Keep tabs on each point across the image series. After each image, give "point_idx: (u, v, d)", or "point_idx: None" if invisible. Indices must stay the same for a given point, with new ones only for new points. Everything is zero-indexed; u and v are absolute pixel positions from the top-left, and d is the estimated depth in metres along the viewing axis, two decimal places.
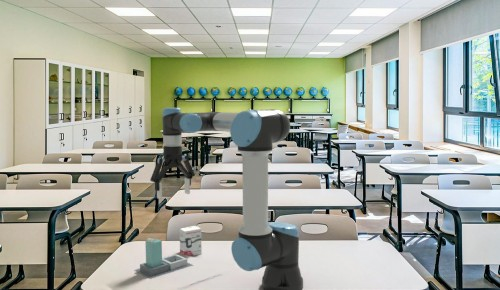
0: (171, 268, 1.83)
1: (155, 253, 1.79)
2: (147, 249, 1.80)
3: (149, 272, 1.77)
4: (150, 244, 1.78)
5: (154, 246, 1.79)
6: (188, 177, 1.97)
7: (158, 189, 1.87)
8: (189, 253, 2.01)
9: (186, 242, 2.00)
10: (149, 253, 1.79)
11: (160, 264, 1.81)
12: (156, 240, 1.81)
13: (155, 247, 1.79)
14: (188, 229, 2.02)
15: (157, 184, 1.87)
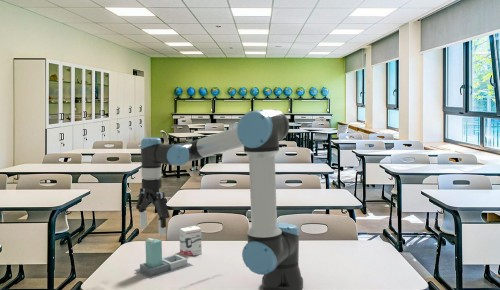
0: (171, 268, 1.83)
1: (155, 253, 1.79)
2: (147, 249, 1.80)
3: (149, 272, 1.77)
4: (150, 244, 1.78)
5: (154, 246, 1.79)
6: None
7: None
8: (189, 253, 2.01)
9: (186, 242, 2.00)
10: (149, 253, 1.79)
11: (160, 264, 1.81)
12: (156, 240, 1.81)
13: (155, 247, 1.79)
14: (188, 229, 2.02)
15: (140, 212, 1.85)
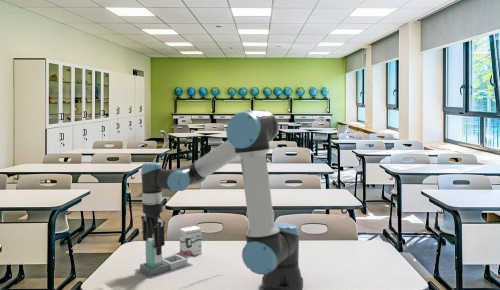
0: (171, 268, 1.83)
1: None
2: (147, 249, 1.80)
3: (149, 272, 1.77)
4: (150, 244, 1.78)
5: None
6: None
7: None
8: (189, 253, 2.01)
9: (186, 242, 2.00)
10: (149, 253, 1.79)
11: (160, 264, 1.81)
12: None
13: None
14: (188, 229, 2.02)
15: None
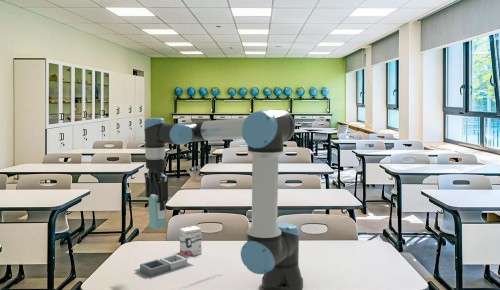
0: (171, 268, 1.83)
1: None
2: (150, 205, 1.79)
3: (149, 272, 1.77)
4: (153, 199, 1.78)
5: None
6: None
7: None
8: (189, 253, 2.01)
9: (186, 242, 2.00)
10: (152, 209, 1.79)
11: (163, 220, 1.80)
12: None
13: None
14: (188, 229, 2.02)
15: None
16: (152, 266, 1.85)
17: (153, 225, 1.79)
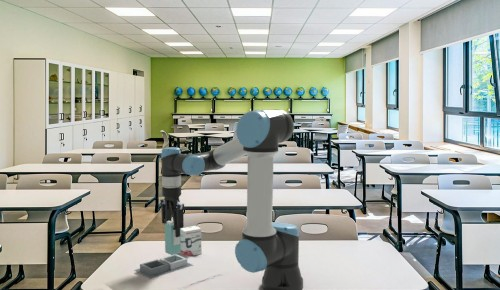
0: (171, 268, 1.83)
1: None
2: (166, 231, 1.86)
3: (149, 272, 1.77)
4: (169, 226, 1.84)
5: None
6: None
7: None
8: (189, 253, 2.01)
9: (186, 242, 2.00)
10: (168, 235, 1.85)
11: (179, 246, 1.87)
12: None
13: None
14: (188, 229, 2.02)
15: None
16: (152, 266, 1.85)
17: (169, 251, 1.85)
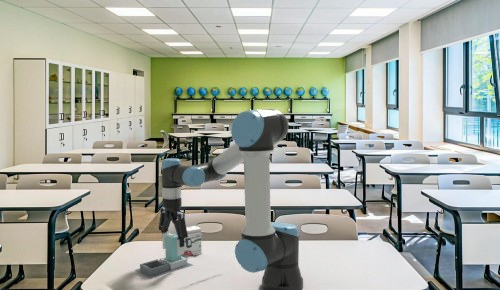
0: (171, 268, 1.83)
1: (174, 248, 1.85)
2: (167, 244, 1.86)
3: (149, 272, 1.77)
4: (170, 239, 1.84)
5: (174, 241, 1.85)
6: None
7: None
8: (189, 253, 2.01)
9: (186, 242, 2.00)
10: (169, 247, 1.85)
11: (179, 258, 1.87)
12: (175, 235, 1.87)
13: (175, 242, 1.85)
14: (188, 229, 2.02)
15: None
16: (152, 266, 1.85)
17: None
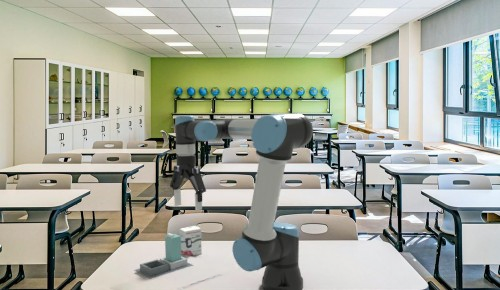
0: (171, 268, 1.83)
1: (174, 248, 1.85)
2: (167, 244, 1.86)
3: (149, 272, 1.77)
4: (170, 239, 1.84)
5: (174, 241, 1.85)
6: None
7: None
8: (189, 253, 2.01)
9: (186, 242, 2.00)
10: (169, 247, 1.85)
11: (179, 258, 1.87)
12: (175, 235, 1.87)
13: (175, 242, 1.85)
14: (188, 229, 2.02)
15: (174, 190, 1.90)
16: (152, 266, 1.85)
17: None
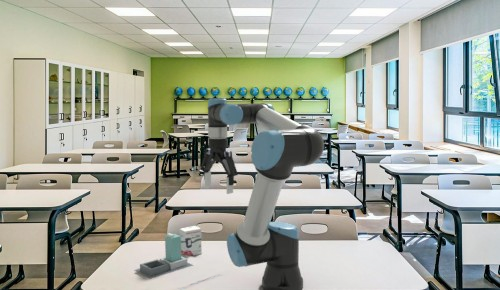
0: (171, 268, 1.83)
1: (174, 248, 1.85)
2: (167, 244, 1.86)
3: (149, 272, 1.77)
4: (170, 239, 1.84)
5: (174, 241, 1.85)
6: None
7: (205, 178, 1.89)
8: (189, 253, 2.01)
9: (186, 242, 2.00)
10: (169, 247, 1.85)
11: (179, 258, 1.87)
12: (175, 235, 1.87)
13: (175, 242, 1.85)
14: (188, 229, 2.02)
15: (204, 173, 1.89)
16: (152, 266, 1.85)
17: None
